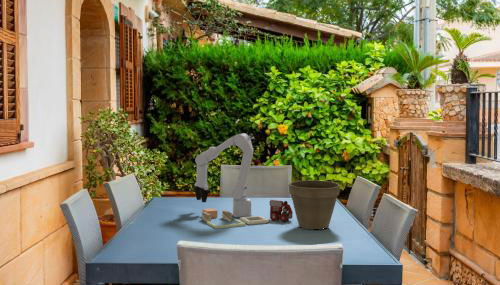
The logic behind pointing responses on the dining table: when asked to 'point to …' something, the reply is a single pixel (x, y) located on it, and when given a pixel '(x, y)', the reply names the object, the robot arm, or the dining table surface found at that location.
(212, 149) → the robot arm
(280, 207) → the toy fire truck
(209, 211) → the terracotta block
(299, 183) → the plant pot
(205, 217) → the channel walls
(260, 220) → the trap basin
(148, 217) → the dining table surface
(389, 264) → the dining table surface
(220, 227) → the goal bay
